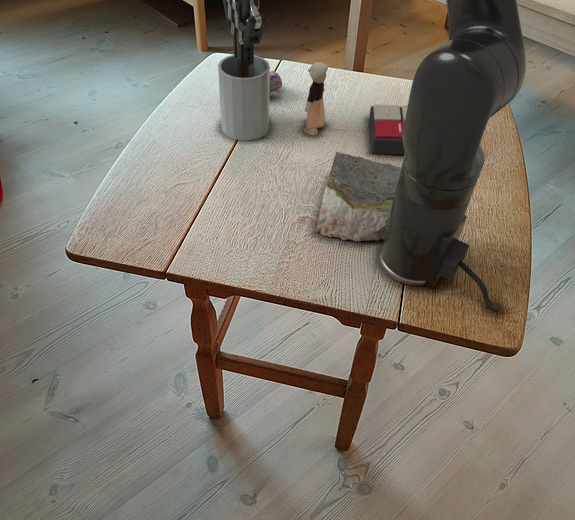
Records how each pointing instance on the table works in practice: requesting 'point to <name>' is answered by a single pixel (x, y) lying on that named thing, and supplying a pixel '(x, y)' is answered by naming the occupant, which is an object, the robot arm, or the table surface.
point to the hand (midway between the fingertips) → (243, 60)
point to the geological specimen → (357, 198)
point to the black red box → (387, 129)
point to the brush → (242, 70)
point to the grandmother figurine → (316, 99)
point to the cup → (244, 99)
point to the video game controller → (275, 81)
